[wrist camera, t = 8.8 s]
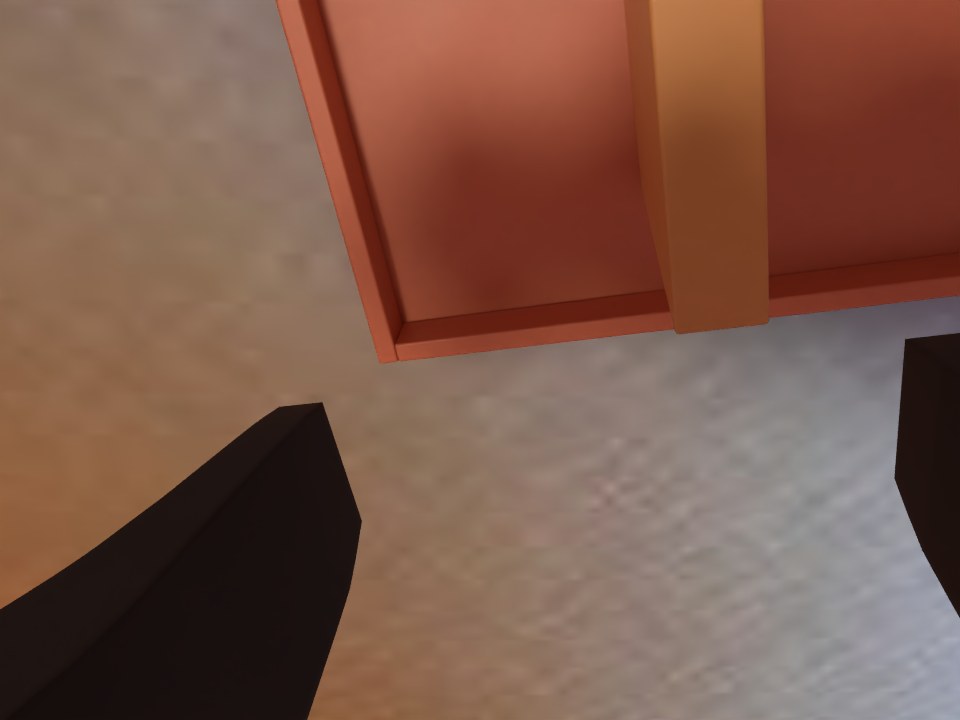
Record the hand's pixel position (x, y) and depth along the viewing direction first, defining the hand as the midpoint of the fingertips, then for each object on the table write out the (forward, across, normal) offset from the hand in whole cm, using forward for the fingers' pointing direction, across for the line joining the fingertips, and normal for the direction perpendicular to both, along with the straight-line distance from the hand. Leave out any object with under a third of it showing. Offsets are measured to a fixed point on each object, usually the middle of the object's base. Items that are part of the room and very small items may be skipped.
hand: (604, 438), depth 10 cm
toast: (+10, -2, -3) cm, 10 cm away
